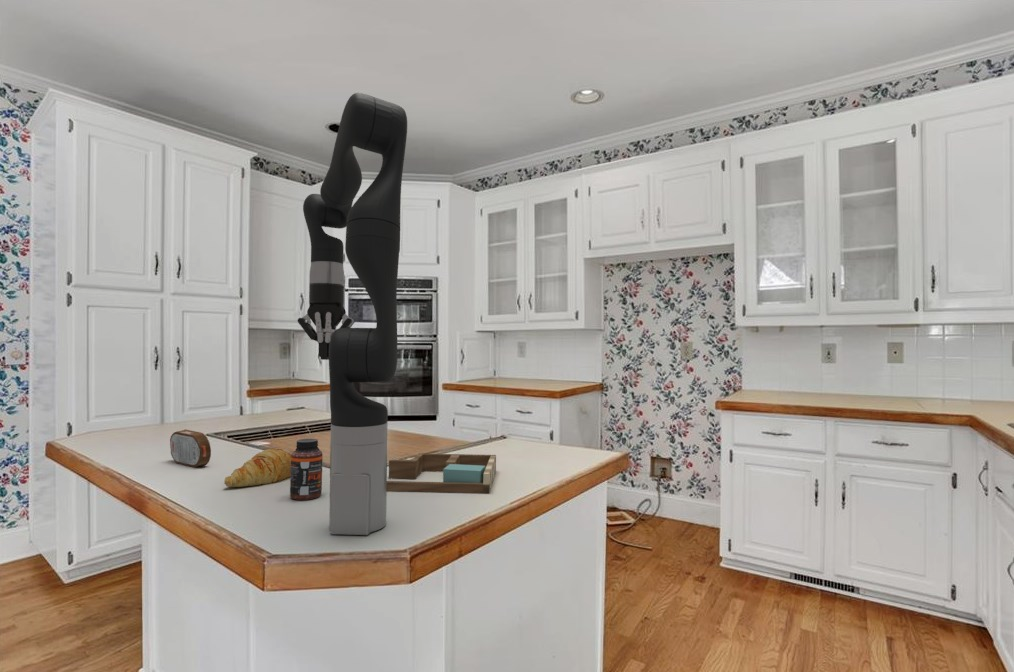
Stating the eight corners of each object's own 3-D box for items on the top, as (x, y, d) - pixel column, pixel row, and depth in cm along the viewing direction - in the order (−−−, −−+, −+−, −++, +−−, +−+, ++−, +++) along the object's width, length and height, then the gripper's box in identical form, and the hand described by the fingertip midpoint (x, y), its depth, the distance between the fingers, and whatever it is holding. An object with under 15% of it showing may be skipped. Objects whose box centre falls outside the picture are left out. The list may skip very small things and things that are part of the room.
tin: (211, 467, 130) (212, 433, 130) (198, 470, 128) (199, 434, 128) (180, 460, 138) (180, 427, 138) (167, 462, 136) (167, 429, 136)
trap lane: (489, 493, 109) (489, 473, 109) (375, 490, 110) (375, 471, 111) (495, 471, 128) (496, 454, 128) (398, 469, 130) (398, 453, 130)
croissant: (235, 509, 109) (248, 476, 107) (205, 481, 112) (217, 449, 111) (310, 482, 128) (322, 454, 127) (283, 459, 132) (294, 432, 130)
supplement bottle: (311, 502, 102) (312, 443, 103) (283, 500, 103) (284, 441, 104) (327, 493, 108) (328, 438, 108) (301, 491, 109) (302, 436, 110)
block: (480, 492, 111) (480, 471, 111) (443, 490, 112) (443, 469, 112) (485, 486, 115) (485, 465, 116) (449, 484, 117) (449, 464, 117)
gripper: (290, 281, 117) (289, 359, 117) (349, 281, 117) (348, 360, 116) (305, 285, 125) (304, 358, 124) (360, 285, 124) (359, 359, 124)
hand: (325, 359), depth 120 cm, fingers closed
